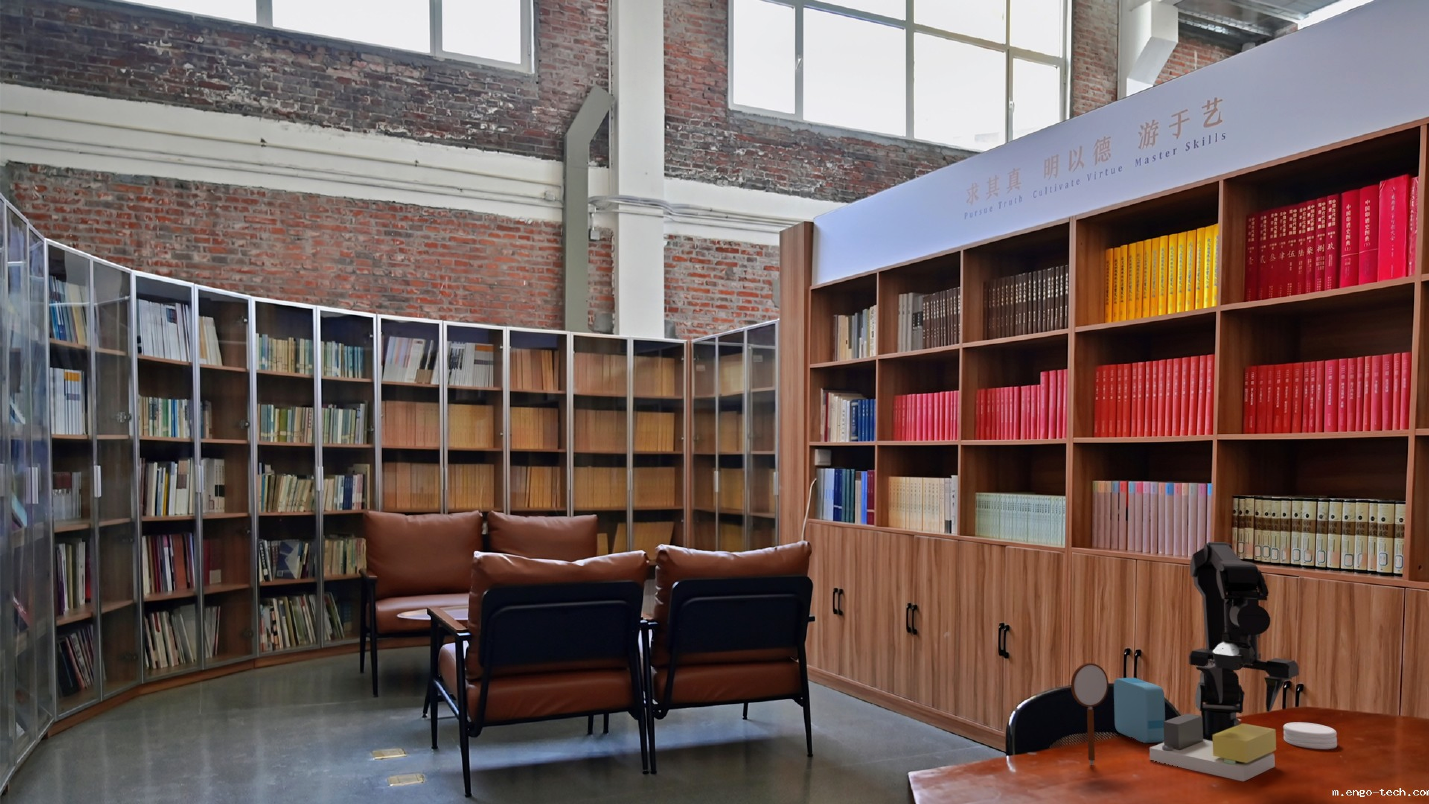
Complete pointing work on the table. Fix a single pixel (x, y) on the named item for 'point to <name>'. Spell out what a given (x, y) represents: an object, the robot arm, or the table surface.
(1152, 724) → the data package
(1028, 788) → the table surface
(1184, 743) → the block
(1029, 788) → the table surface
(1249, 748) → the pale yellow pad
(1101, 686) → the magnifying glass
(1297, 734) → the coaster
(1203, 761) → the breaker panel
